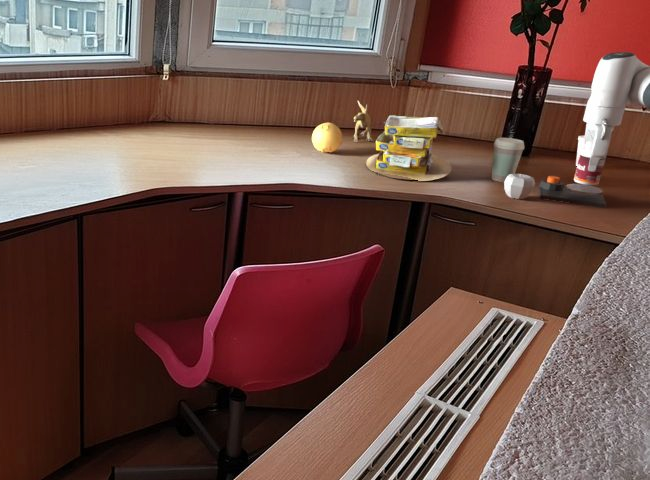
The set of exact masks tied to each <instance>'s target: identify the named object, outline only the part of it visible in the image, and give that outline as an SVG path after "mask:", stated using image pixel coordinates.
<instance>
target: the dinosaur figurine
mask: <svg viewBox="0 0 650 480" xmlns="http://www.w3.org/2000/svg"><path fill="white" fill-rule="evenodd" d="M357 104H358V106H359V108H360V110H361V112H358V113H357V114H356V115H355V116H354V117H353V122H354V123H355V126H354V135H353V136H352V137H351V138H350V139H352V140H353V143H355V142H356V143H359V136H361V137H364V136H365V134H366V138H365V141H366V142H374V140H373V138H372V126H371V125H372V122H371V121H372V120H371V117H370V115H369V113H368V107H369V104H368V103H366V105H365V107H364V106H363V105H362V104H361V103H360V101H359V100H357ZM360 128H361V129H365V130H364V131H361V132H360Z"/></svg>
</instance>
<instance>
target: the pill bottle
mask: <svg viewBox="0 0 650 480" xmlns="http://www.w3.org/2000/svg"><path fill="white" fill-rule="evenodd" d="M588 146H589V142H588V141H587V142H586V145H585V147H586V149H583V150H582V151H581V152H580V156H579V160H578V164H577V167H576V169H575V173H574V177H573V182H575V183H576V184H583V185H589V186H597V185H599V184H600V181H601V177H602V175H603V174H602V173H603V171H604V166H605V163H606V158H607V156H606V157H605V158H600V160H599V162H598V164H597V167H596V170H595V171H589V170H588V165H589V162H590V157H591V156H590V154H589V152H588Z"/></svg>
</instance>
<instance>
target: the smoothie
mask: <svg viewBox="0 0 650 480" xmlns="http://www.w3.org/2000/svg"><path fill="white" fill-rule="evenodd" d="M577 140H578V141H577V151H576V159H575V167H576V166H577V164H578V160H579V156H580V152H581V151H582V150H583V149H586V147H585V142H584V140H585V135H578V138H577Z"/></svg>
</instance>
